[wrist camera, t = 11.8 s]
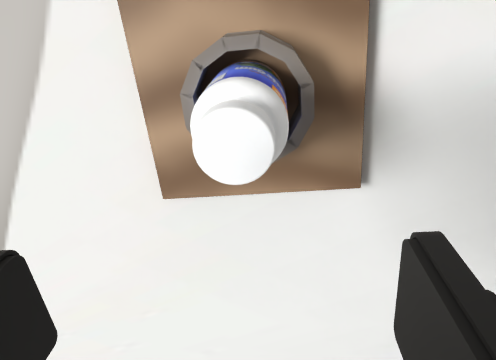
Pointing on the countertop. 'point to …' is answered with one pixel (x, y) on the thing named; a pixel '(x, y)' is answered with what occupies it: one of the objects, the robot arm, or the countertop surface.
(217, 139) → the pill bottle
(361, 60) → the base
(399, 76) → the countertop surface
